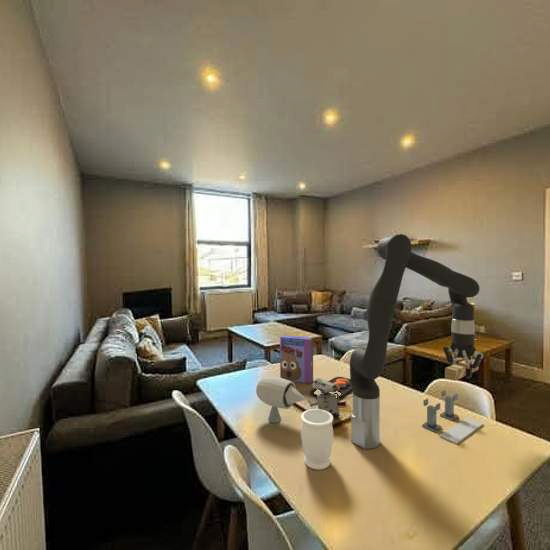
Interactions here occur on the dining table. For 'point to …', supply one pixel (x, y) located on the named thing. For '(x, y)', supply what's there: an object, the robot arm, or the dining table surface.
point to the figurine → (326, 396)
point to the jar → (317, 437)
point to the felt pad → (461, 430)
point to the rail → (458, 370)
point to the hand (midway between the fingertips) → (462, 376)
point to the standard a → (431, 417)
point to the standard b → (449, 407)
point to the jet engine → (277, 395)
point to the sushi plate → (340, 385)
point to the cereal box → (296, 359)
